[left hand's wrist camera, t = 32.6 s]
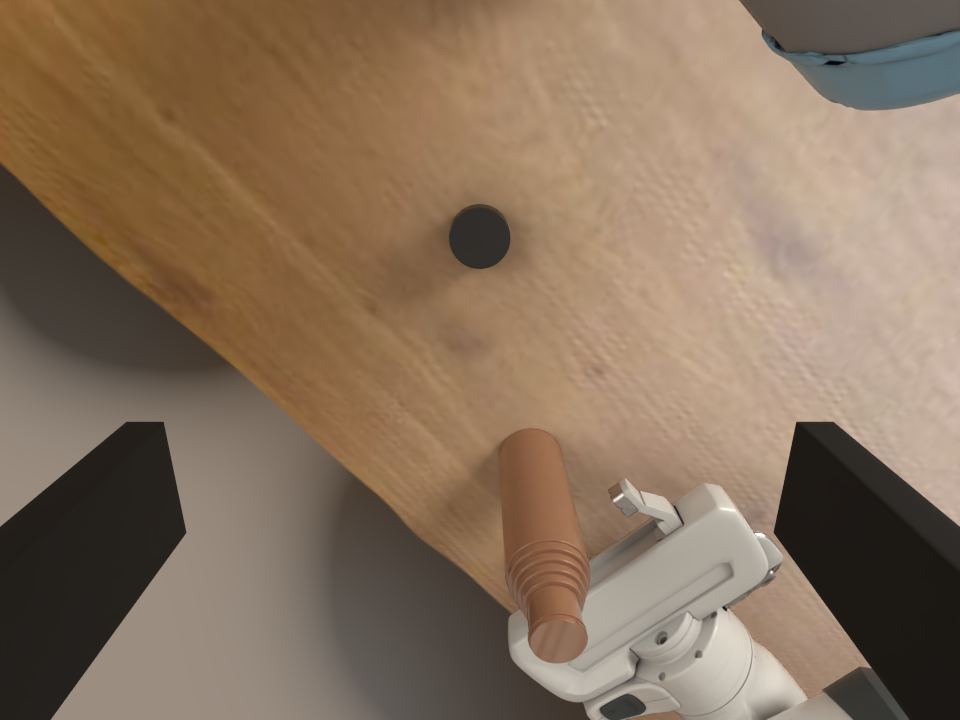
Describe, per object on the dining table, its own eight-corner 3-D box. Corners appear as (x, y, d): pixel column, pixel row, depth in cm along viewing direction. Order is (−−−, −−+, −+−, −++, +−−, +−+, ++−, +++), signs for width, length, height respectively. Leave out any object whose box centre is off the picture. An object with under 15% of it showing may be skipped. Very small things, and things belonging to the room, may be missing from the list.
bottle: (528, 494, 50) (554, 693, 32) (485, 455, 49) (488, 641, 31) (574, 456, 49) (627, 643, 31) (531, 416, 48) (562, 586, 30)
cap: (501, 268, 43) (502, 274, 42) (445, 256, 43) (443, 261, 41) (515, 211, 42) (516, 215, 40) (457, 198, 42) (456, 201, 40)
